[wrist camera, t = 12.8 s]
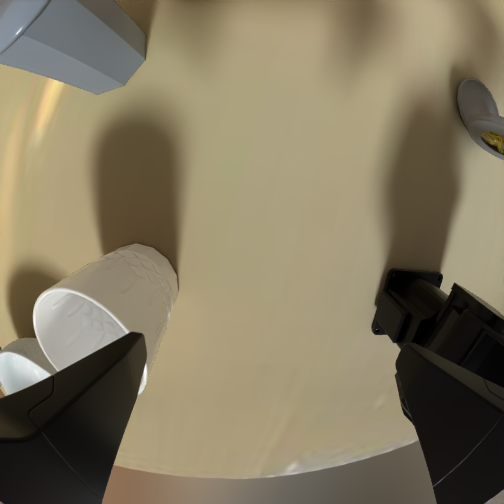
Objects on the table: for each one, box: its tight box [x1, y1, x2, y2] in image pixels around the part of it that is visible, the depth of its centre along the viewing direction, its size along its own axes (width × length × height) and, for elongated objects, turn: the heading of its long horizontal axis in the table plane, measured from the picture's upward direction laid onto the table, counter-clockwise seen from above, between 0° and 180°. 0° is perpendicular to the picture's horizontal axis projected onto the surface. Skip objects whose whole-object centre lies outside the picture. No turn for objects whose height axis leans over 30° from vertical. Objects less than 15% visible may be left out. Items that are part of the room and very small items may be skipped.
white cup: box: [33, 243, 178, 395], centre depth 17 cm, size 8×8×10 cm
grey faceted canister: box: [0, 0, 146, 95], centre depth 10 cm, size 7×7×12 cm
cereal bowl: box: [0, 337, 58, 395], centre depth 22 cm, size 17×17×7 cm
